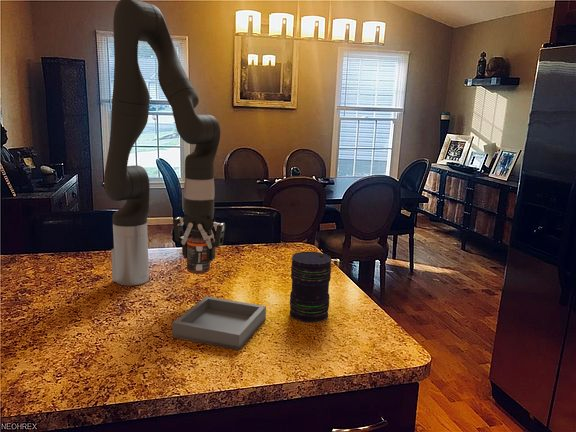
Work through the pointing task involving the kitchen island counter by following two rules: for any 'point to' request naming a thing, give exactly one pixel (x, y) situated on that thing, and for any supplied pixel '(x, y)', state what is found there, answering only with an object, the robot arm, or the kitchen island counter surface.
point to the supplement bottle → (197, 253)
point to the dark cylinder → (310, 286)
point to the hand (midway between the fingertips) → (198, 259)
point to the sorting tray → (219, 322)
